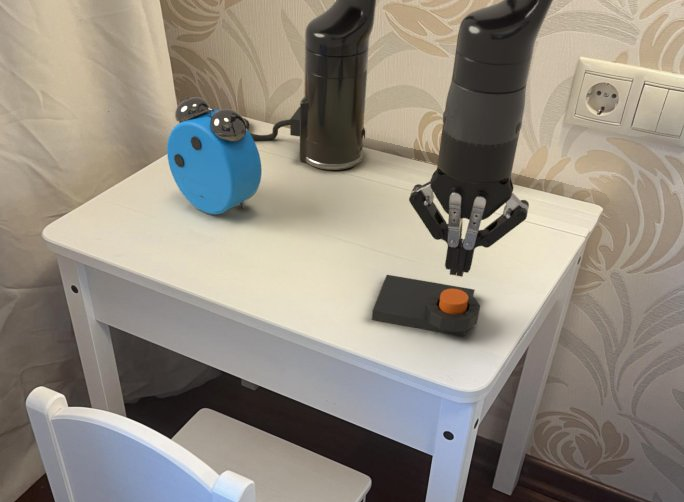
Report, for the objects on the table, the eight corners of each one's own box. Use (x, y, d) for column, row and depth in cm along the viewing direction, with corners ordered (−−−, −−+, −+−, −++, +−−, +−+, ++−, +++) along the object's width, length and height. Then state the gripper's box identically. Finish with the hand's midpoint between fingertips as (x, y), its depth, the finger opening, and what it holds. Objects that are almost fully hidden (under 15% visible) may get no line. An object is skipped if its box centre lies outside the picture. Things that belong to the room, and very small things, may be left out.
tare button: (436, 312, 95) (438, 301, 94) (441, 297, 98) (442, 286, 97) (464, 317, 95) (466, 306, 94) (468, 301, 97) (470, 291, 96)
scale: (369, 326, 98) (370, 305, 96) (385, 283, 104) (387, 263, 102) (472, 345, 95) (476, 324, 93) (482, 300, 102) (486, 279, 100)
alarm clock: (264, 213, 118) (262, 110, 108) (234, 230, 114) (228, 125, 104) (199, 184, 124) (192, 84, 114) (169, 199, 120) (158, 98, 110)
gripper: (552, 118, 83) (519, 264, 94) (422, 101, 86) (405, 245, 97) (547, 150, 77) (512, 301, 89) (408, 131, 80) (392, 279, 92)
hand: (456, 271), depth 93 cm, fingers closed
